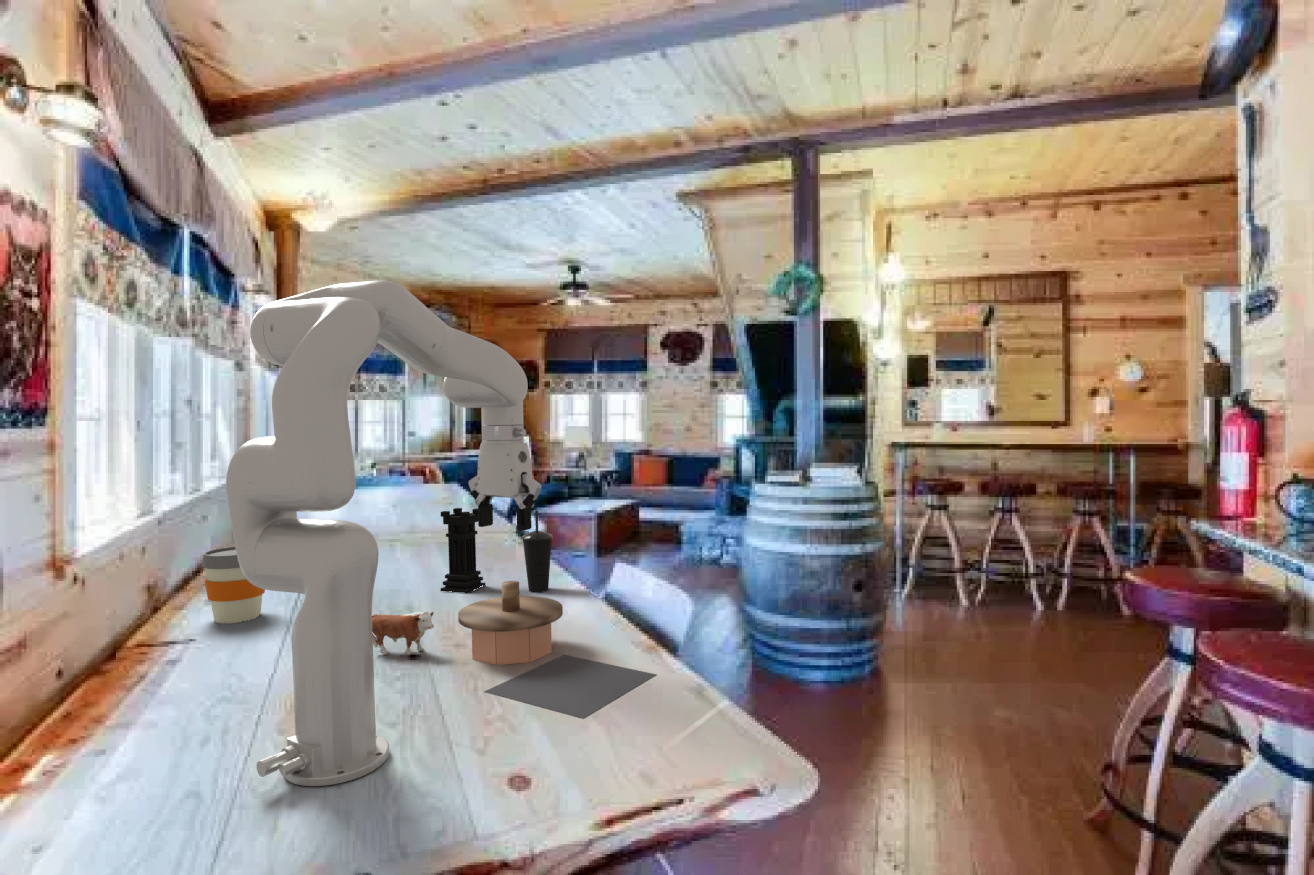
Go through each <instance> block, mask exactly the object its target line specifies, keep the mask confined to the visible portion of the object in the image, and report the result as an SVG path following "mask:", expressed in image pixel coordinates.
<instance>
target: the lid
mask: <svg viewBox="0 0 1314 875" xmlns="http://www.w3.org/2000/svg"><path fill="white" fill-rule="evenodd" d="M457 614H458V615H457V617H458V618H457V619H458V620H457V621H458V624H460V625H461V626H462V627H463V628H466V629H470V630H472V629H473V630H480V631H492V632H503V631H518V630H525V629H531V628H536V627H540V626H544V625H547V624H550V623H551V624H552V623H554V622H556V621H558V620H559V619H561V617H562V616H563V615H564V612H563V605H562V603H561V602H560V601H558V600H555V599H552V598H549V597H543V596H533V595H532V596H529V595H524V596H523V595H520V581H518V580H505V581H503V582H501V597H495V598H488V599H484V600H480V601H476V602H473V603H470V604H467V605H466V606H464V607H462V608H461V609H459V611H458V612H457Z"/></svg>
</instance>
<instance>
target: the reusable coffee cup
mask: <svg viewBox="0 0 1314 875" xmlns="http://www.w3.org/2000/svg"><path fill="white" fill-rule="evenodd" d="M201 566H202V568H203V569H204V574H205V578H204V585H205V592H206V596H207V599H208V601H210V605H211V611H212V616H213V621H214V623H216V624H225V623H226V624H237V623H243V622H242V621H244V622H247V621H246V620H248V621H250V620H249V619H252V620H254V619H257V618H259V617H260V616H261V613H262V602H263V595H264V594H265V591H266V590H265V589H261V588H258V587H256V586H254V585H252V584H251V583H250V582H249V581H248V580H247V579H246V578H245V576H244V575H243V573H242V571H241V568H240V565H239V562H238V558H237V553H236V547H235V545H233V546H226V547H221V548H214V549H210V550H207V551H205V552H203V554H202V564H201ZM259 615H260V616H259ZM258 616H259V617H258ZM256 617H257V618H256Z"/></svg>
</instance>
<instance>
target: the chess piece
mask: <svg viewBox="0 0 1314 875" xmlns="http://www.w3.org/2000/svg"><path fill="white" fill-rule="evenodd" d="M440 517H441V518H442V521H443V522H442V524H443V525H447V533H446V534H445V537H446V538H447V539H448V573H446V574H445V575H444V579H445V580H443V581H442V586H443V587H441V588H440V592H441V591H452V592H451V593H454V592H465V593H464V594H468V593H469V592H471V591H473V590H474V589H477V588H479V587H480V586H482V585H485V586H486V582H482V581H483V580H484V576H479V575H481V574H482V572H481V570H477V550H476V549H477V548H476V546H477V545H476V544H477V543H476V535H478V530H476V523H478V507H477V508H473V509H472V511H471V513H470V511H463V508H462V507H455V508H453V509H452V513H451V511H450V510H443V511H442V510H441V511H440ZM477 590H478V589H477ZM473 592H474V591H473ZM471 593H472V592H471ZM469 594H470V593H469Z"/></svg>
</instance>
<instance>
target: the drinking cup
mask: <svg viewBox="0 0 1314 875" xmlns="http://www.w3.org/2000/svg"><path fill="white" fill-rule="evenodd" d="M534 512H535V513H534V516H535V519H534V520H535V530H533V531H530V532H527V533H525V534H524V535H522V536H521V540H522V544H523V545H522V546H523V552H524V562H525V569H526V577H527V586H528V592H530V591H531V592H530V593H534V592H538V593H544V592H543V591H545V592H547V591H546V590H548V591H549V585H550V566H551V555H552V553H551V552H552V551H551V550H552V540H553V534H552V533H549V532H546V531H543V530H539V511H538V510H537V509H536V510H535V511H534Z"/></svg>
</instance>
